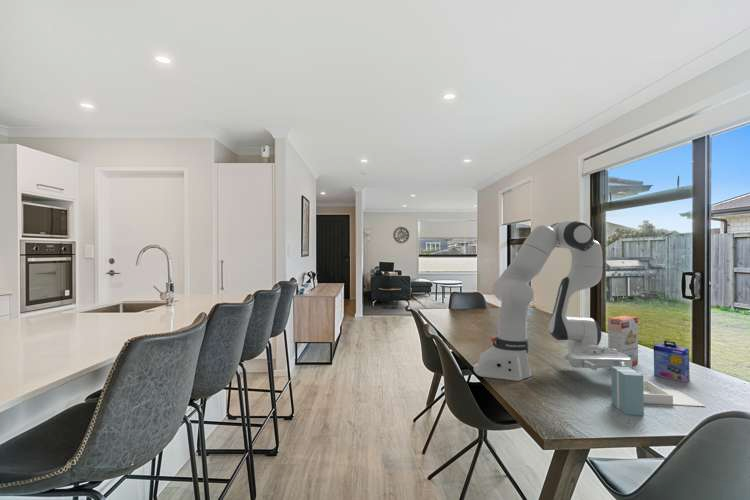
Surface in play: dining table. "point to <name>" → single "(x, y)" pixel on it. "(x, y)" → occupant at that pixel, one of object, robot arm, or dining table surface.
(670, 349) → the ink cartridge box
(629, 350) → the cracker box
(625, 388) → the gift box
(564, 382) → the dining table surface
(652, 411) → the dining table surface
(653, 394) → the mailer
